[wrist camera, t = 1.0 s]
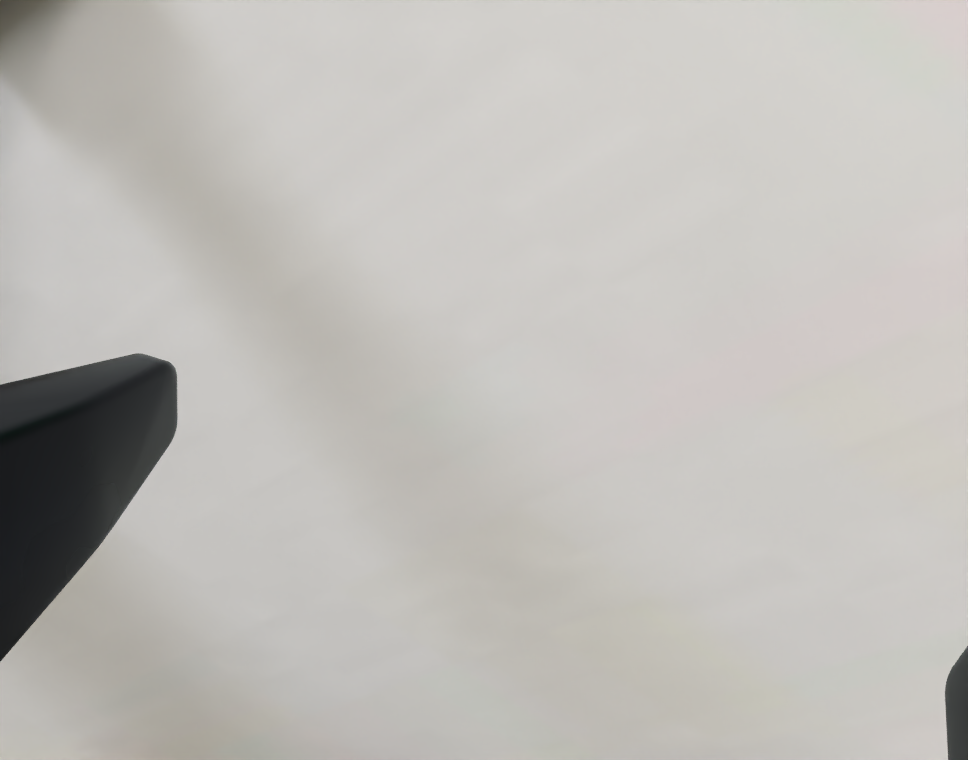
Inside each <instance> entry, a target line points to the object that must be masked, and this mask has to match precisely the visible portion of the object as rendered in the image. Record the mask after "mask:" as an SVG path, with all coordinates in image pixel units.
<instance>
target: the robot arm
mask: <svg viewBox="0 0 968 760" xmlns="http://www.w3.org/2000/svg"><path fill="white" fill-rule="evenodd" d="M176 427H177V374H176V370H175V367H174V366H173V365H172V364H171V363H170V362H168V361H164V360H161V359H158V358H155V357H152V356H148V355H145V354H132V355H128V356H124V357H119V358H115V359H110V360H106V361H102V362H97V363H93V364H89V365H84V366H80V367H76V368H71V369H67V370H63V371H58V372H54V373H50V374H45V375H41V376H37V377H32V378H28V379H23V380H19V381H15V382H10V383H6V384H2V385H0V661H1V660H2V659H3V658H4V657H5V655H6V654H7V653H8V652H9V651H10V650H11V648H12V647H13V646H14V645H15V644H16V643H17V642H18V640H19V639H20V638H21V637H22V636H23V635H24V633H25V632H26V631H27V630H28V629H29V628H30V626H31V625H32V624H33V623H34V622H35V621H36V619H37V618H38V617H39V616H40V615H41V614H42V612H43V611H44V610H45V609H46V608H47V607H48V605H49V604H50V603H51V602H52V601H53V600H54V598H55V597H56V596H57V595H58V594H59V593H60V592H61V590H62V589H63V588H64V587H65V586H66V585H67V583H68V582H69V581H70V580H71V579H72V578H73V576H74V575H75V574H76V573H77V572H78V571H79V569H80V568H81V567H82V566H83V565H84V564H85V562H86V561H87V560H88V559H89V558H90V556H91V555H92V554H93V553H94V552H95V550H96V549H97V548H98V547H99V545H100V544H101V543H102V542H103V540H104V539H105V537H106V536H107V535H108V533H109V532H110V531H111V529H112V528H113V526H114V525H115V524H116V522H117V521H118V519H119V518H120V516H121V515H122V513H123V512H124V510H125V509H126V507H127V506H128V505H129V503H130V502H131V500H132V499H133V497H134V496H135V494H136V493H137V491H138V490H139V488H140V487H141V486H142V484H143V483H144V481H145V480H146V478H147V477H148V475H149V474H150V472H151V471H152V469H153V468H154V467H155V465H156V464H157V462H158V461H159V459H160V458H161V456H162V455H163V453H164V452H165V450H166V449H167V448H168V446H169V444H170V443H171V441H172V439H173V437H174V434H175V431H176ZM945 702H946V722H947V743H948V760H968V646H967V648H966V649H965V651H964V652H963V653H962V655H961V656H960V658H959V659H958V660H957V662H956V663H955V665H954V666H953V667H952V669H951V671H950V673H949V675H948V678H947V682H946V688H945Z"/></svg>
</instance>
